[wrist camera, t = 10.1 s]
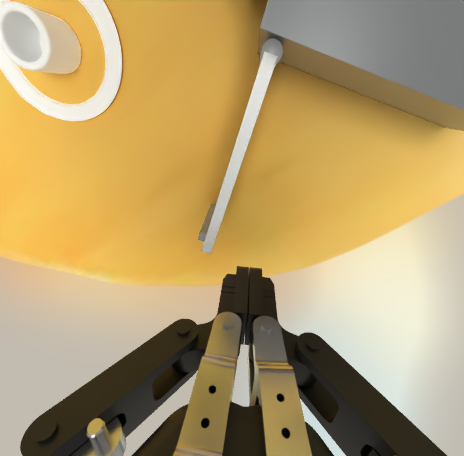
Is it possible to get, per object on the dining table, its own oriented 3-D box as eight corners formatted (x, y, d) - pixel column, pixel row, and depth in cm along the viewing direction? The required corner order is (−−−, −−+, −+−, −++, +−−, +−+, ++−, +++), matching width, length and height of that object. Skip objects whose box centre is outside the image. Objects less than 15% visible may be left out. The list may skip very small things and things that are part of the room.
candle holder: (39, 130, 26) (1, 137, 22) (-41, -23, 20) (-109, -50, 16) (144, 107, 24) (124, 109, 20) (88, -69, 18) (45, -112, 14)
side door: (257, 53, 20) (258, 31, 13) (275, 60, 20) (286, 42, 13) (210, 209, 27) (194, 248, 20) (223, 213, 27) (212, 254, 20)
